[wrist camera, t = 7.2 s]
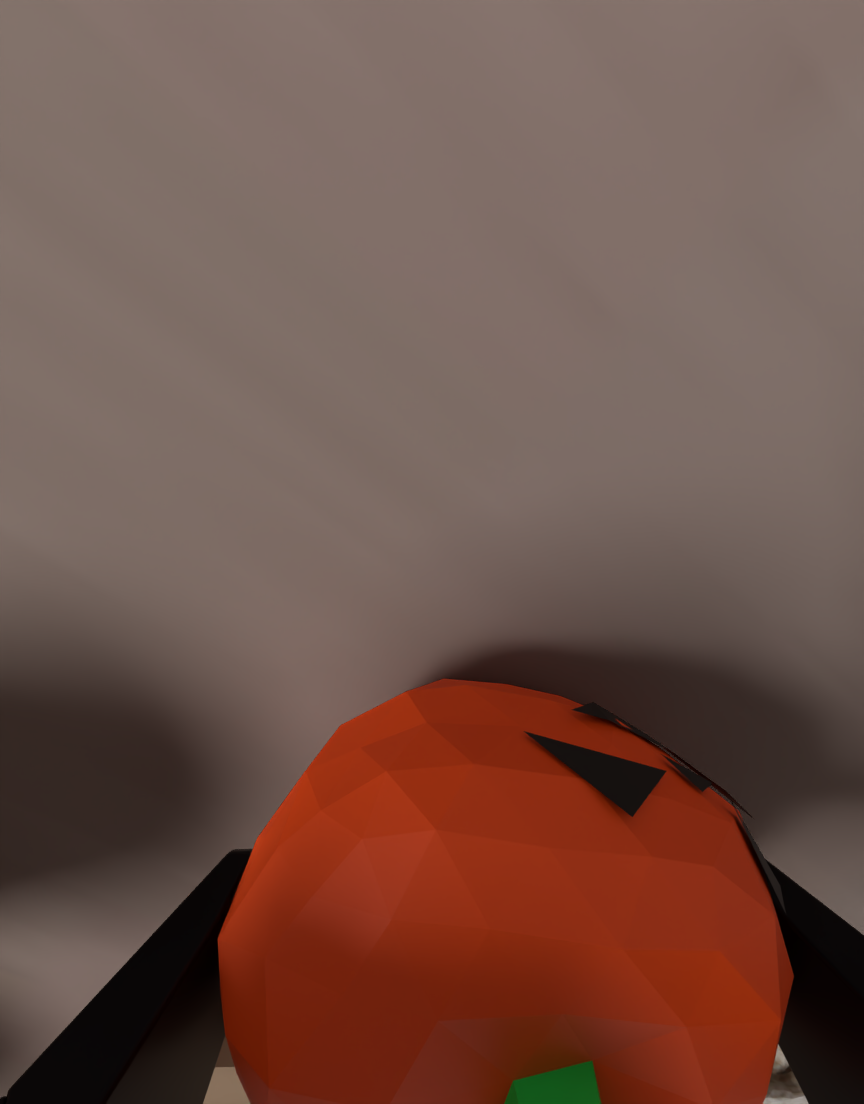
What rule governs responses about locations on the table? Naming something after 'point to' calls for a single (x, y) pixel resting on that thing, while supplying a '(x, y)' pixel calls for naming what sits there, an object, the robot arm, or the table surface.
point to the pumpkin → (502, 917)
